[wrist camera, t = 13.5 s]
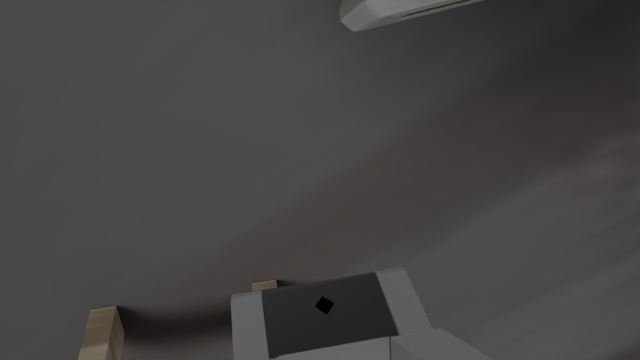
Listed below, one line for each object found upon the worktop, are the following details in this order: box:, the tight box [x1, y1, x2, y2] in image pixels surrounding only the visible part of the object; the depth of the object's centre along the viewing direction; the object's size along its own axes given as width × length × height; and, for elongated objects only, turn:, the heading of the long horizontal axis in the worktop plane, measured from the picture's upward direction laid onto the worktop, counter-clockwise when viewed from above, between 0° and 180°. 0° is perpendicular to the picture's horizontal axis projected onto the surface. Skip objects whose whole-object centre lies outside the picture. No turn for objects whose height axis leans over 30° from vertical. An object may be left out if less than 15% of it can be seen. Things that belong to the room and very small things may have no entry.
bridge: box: [78, 279, 277, 360], centre depth 45 cm, size 3×15×10 cm, turn 95°
